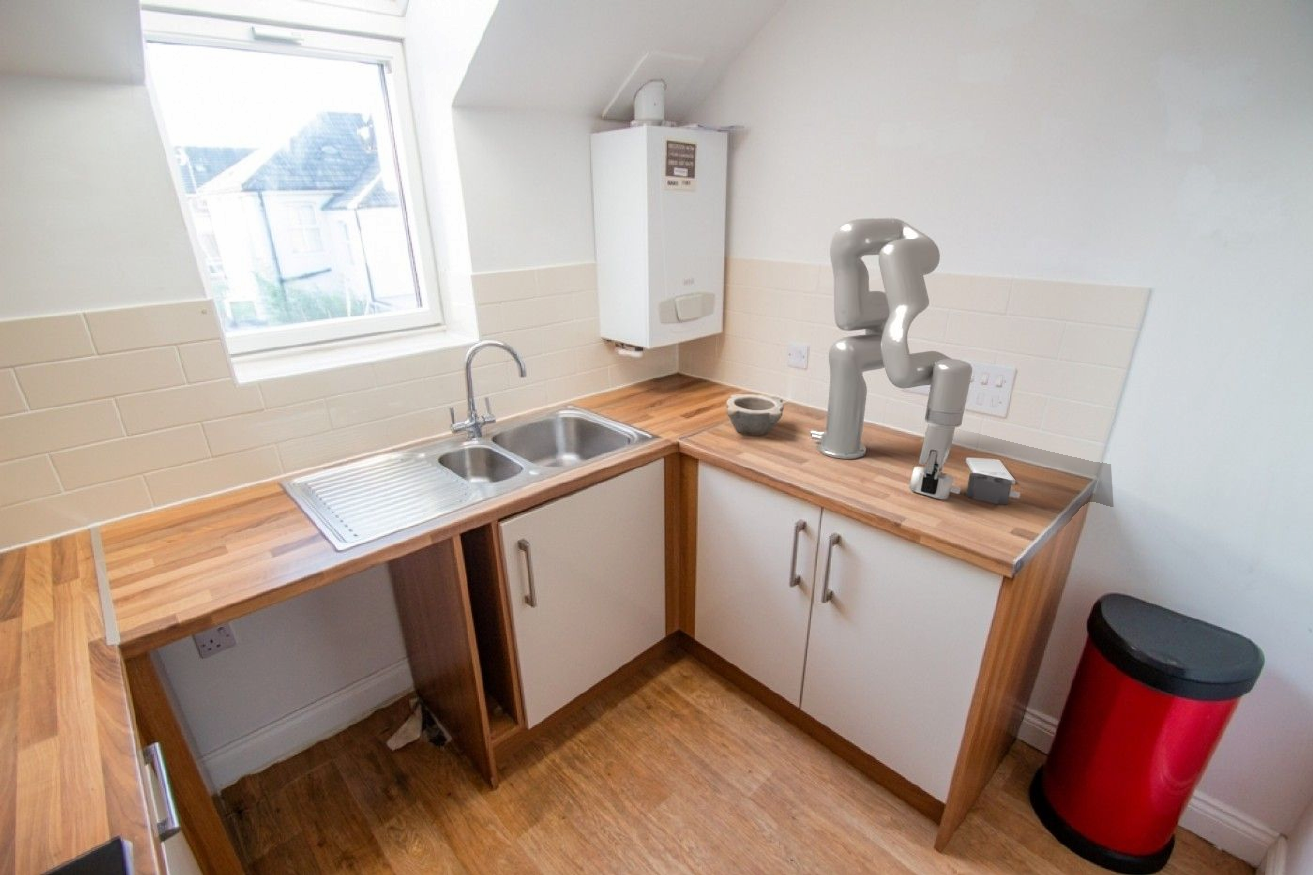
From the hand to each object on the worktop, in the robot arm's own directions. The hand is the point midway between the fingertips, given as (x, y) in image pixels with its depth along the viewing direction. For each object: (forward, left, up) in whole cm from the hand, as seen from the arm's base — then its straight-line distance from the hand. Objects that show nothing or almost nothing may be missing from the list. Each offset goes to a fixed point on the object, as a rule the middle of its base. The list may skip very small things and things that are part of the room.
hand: (930, 488), depth 140 cm
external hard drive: (+10, +21, -2) cm, 23 cm away
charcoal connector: (+11, +5, -1) cm, 12 cm away
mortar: (-53, +16, -2) cm, 55 cm away
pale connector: (0, 0, -1) cm, 1 cm away
